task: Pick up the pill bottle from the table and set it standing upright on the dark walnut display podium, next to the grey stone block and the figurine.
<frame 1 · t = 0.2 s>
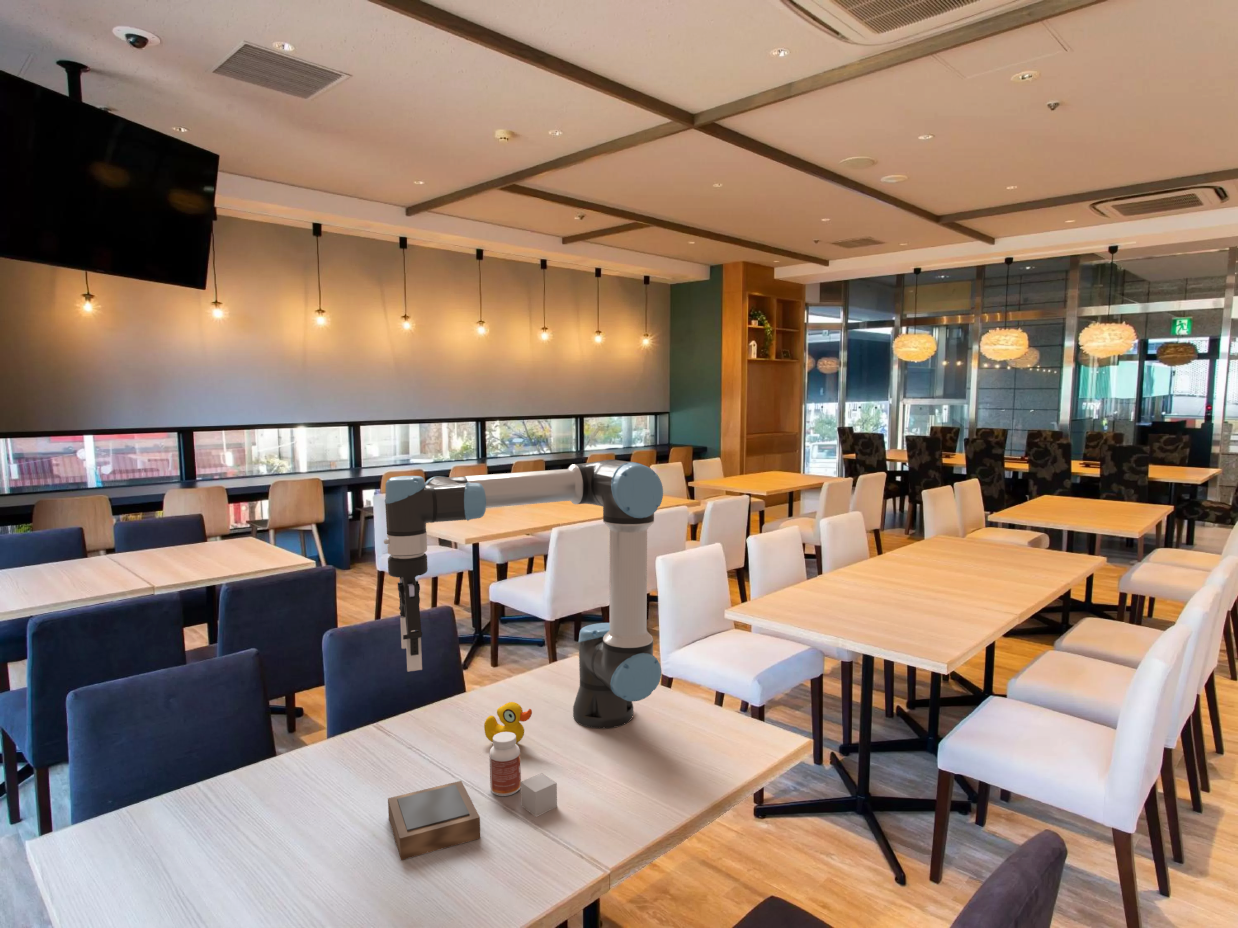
hand: (411, 658, 145), 27 cm above the table, fingers open, 13 cm apart
stone block: (539, 806, 140), on the table
duckling: (507, 745, 166), on the table
pill bottle: (505, 789, 147), on the table
podium: (433, 827, 134), on the table
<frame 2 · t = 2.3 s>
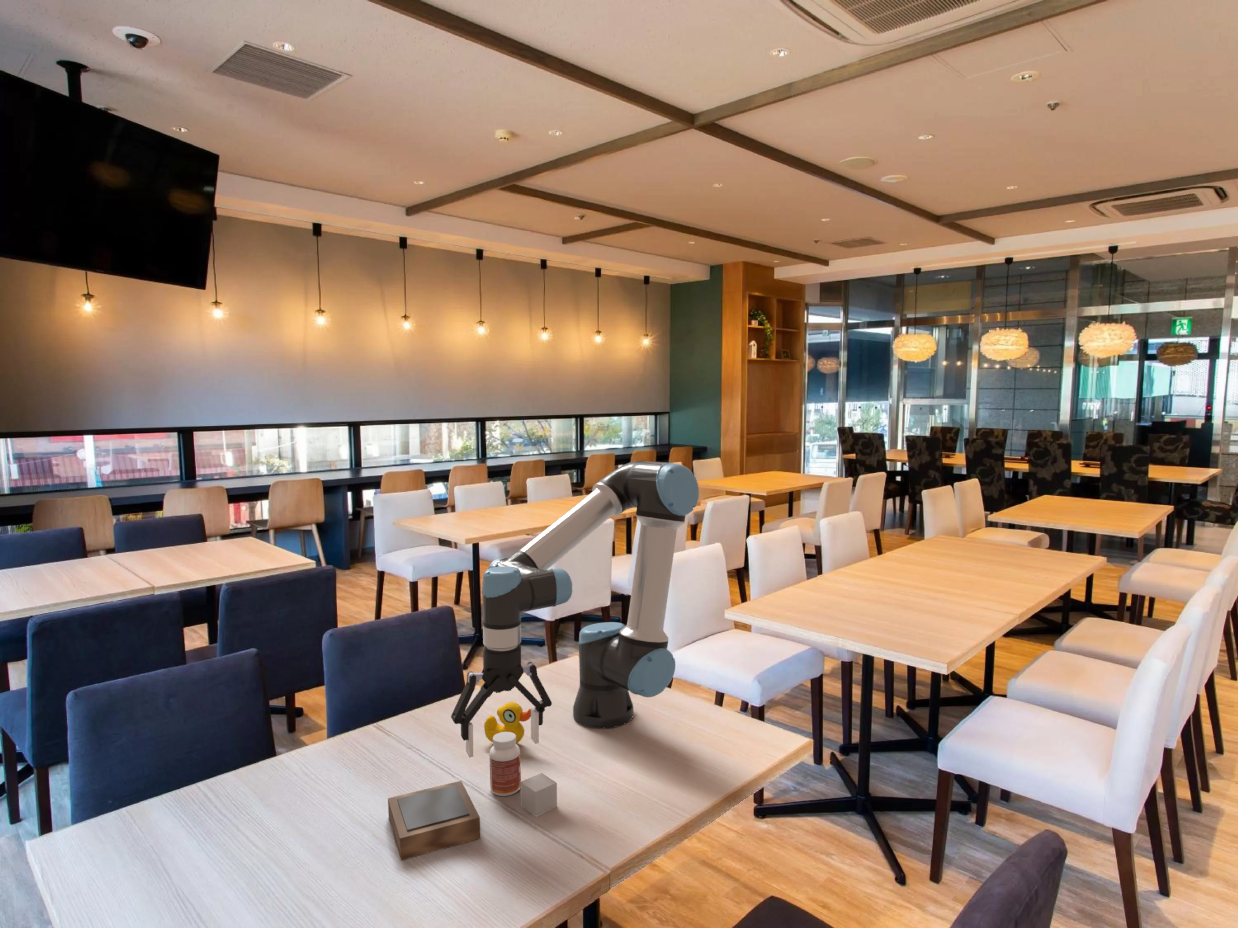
hand: (502, 747, 146), 9 cm above the table, fingers open, 13 cm apart
nothing on the table moved.
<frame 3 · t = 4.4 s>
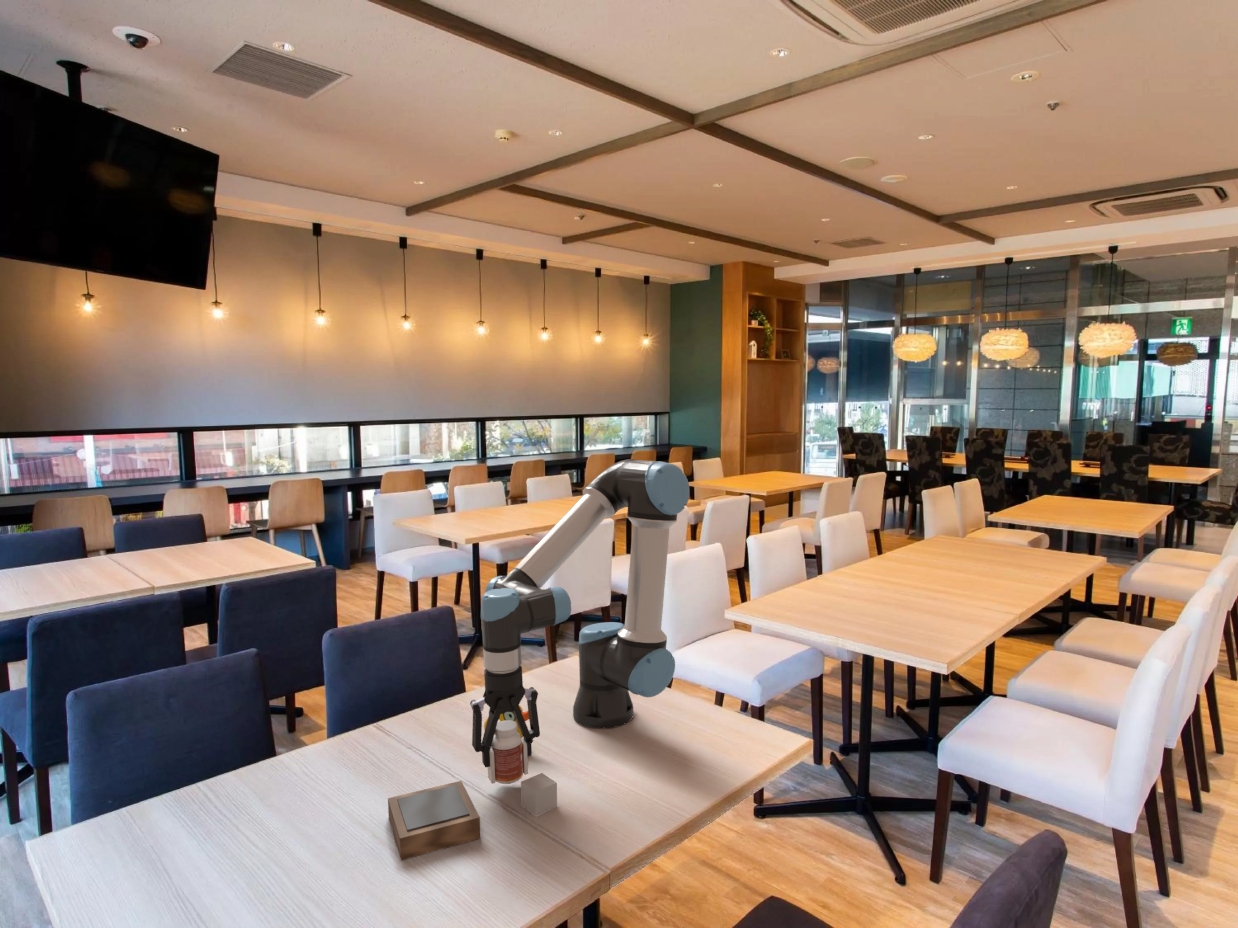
hand: (508, 775, 147), 3 cm above the table, fingers closed on pill bottle, 6 cm apart
pill bottle: (508, 777, 147), point 2 cm above the table, touching gripper
everything else where it was.
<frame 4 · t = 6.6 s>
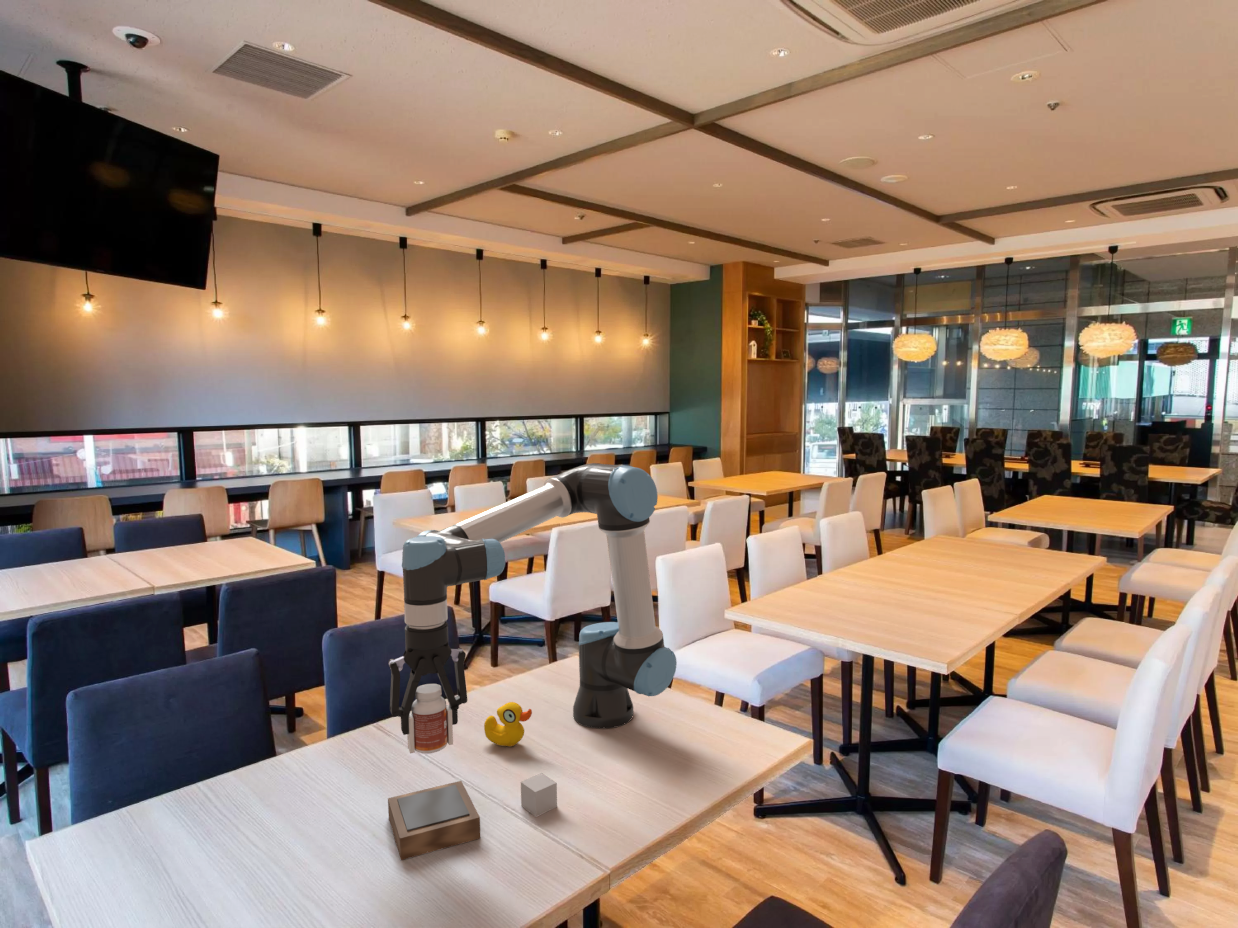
hand: (430, 745, 132), 16 cm above the table, fingers closed on pill bottle, 6 cm apart
pill bottle: (430, 747, 132), point 16 cm above the table, touching gripper
everything else where it was.
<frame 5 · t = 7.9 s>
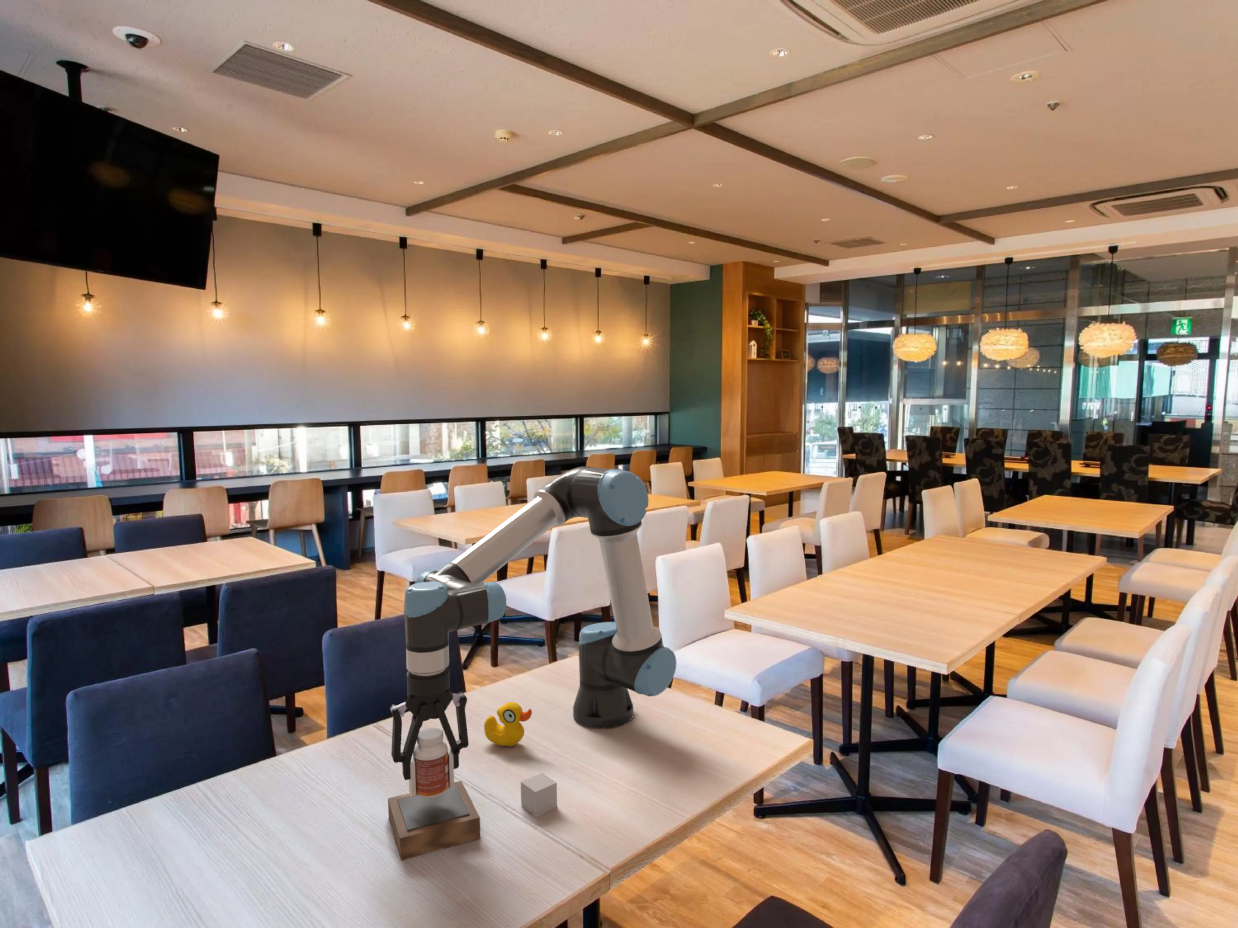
hand: (431, 789, 133), 7 cm above the table, fingers closed on pill bottle, 6 cm apart
pill bottle: (431, 791, 133), point 7 cm above the table, touching gripper
everything else where it was.
when the fingers open (5 cm above the table, at t = 8.7 s): pill bottle stays where it is, resting on podium.
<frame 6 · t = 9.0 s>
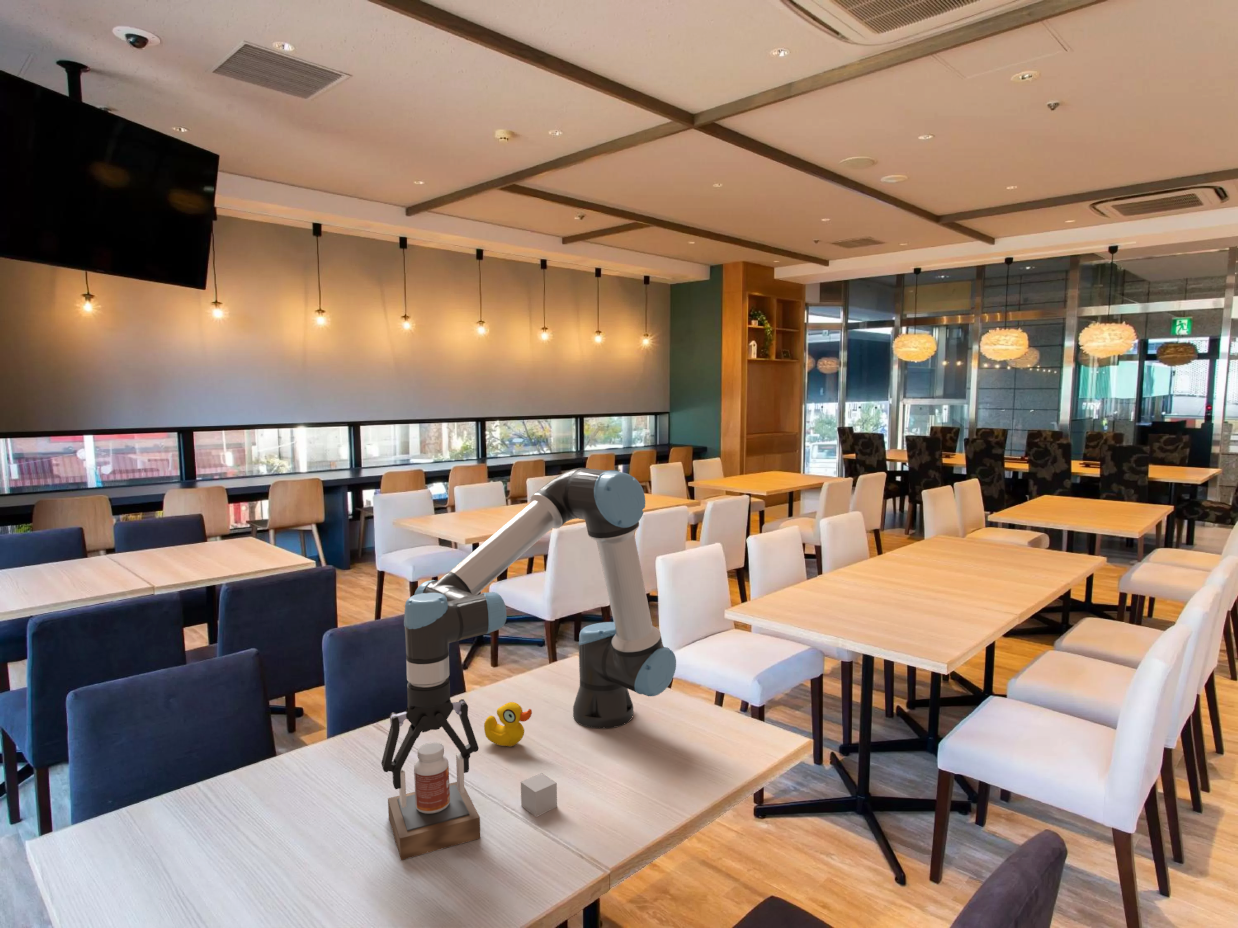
hand: (432, 796, 133), 6 cm above the table, fingers open, 10 cm apart
pill bottle: (433, 806, 133), point 4 cm above the table, touching podium
everything else where it was.
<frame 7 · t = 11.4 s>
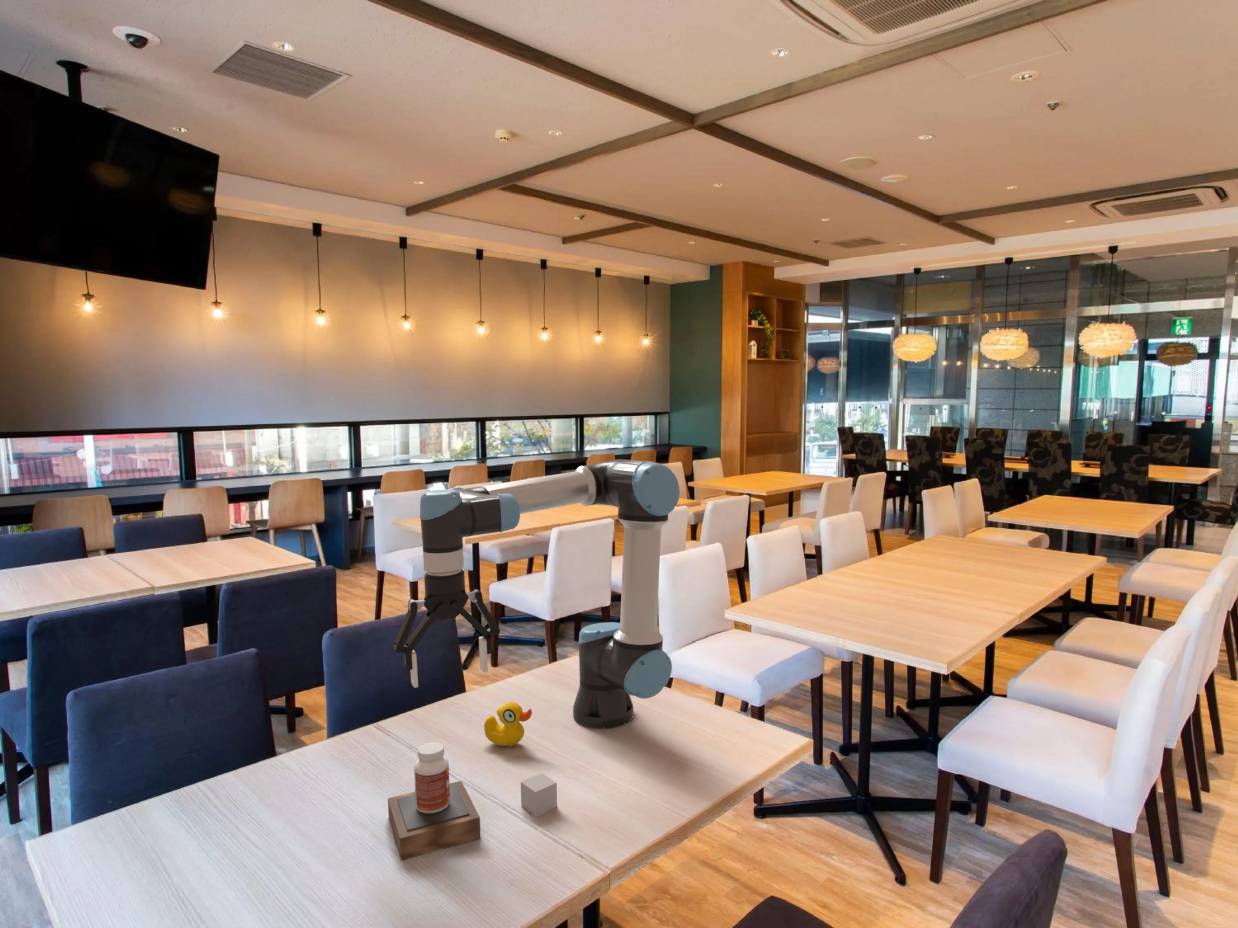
hand: (450, 677, 140), 25 cm above the table, fingers open, 13 cm apart
nothing on the table moved.
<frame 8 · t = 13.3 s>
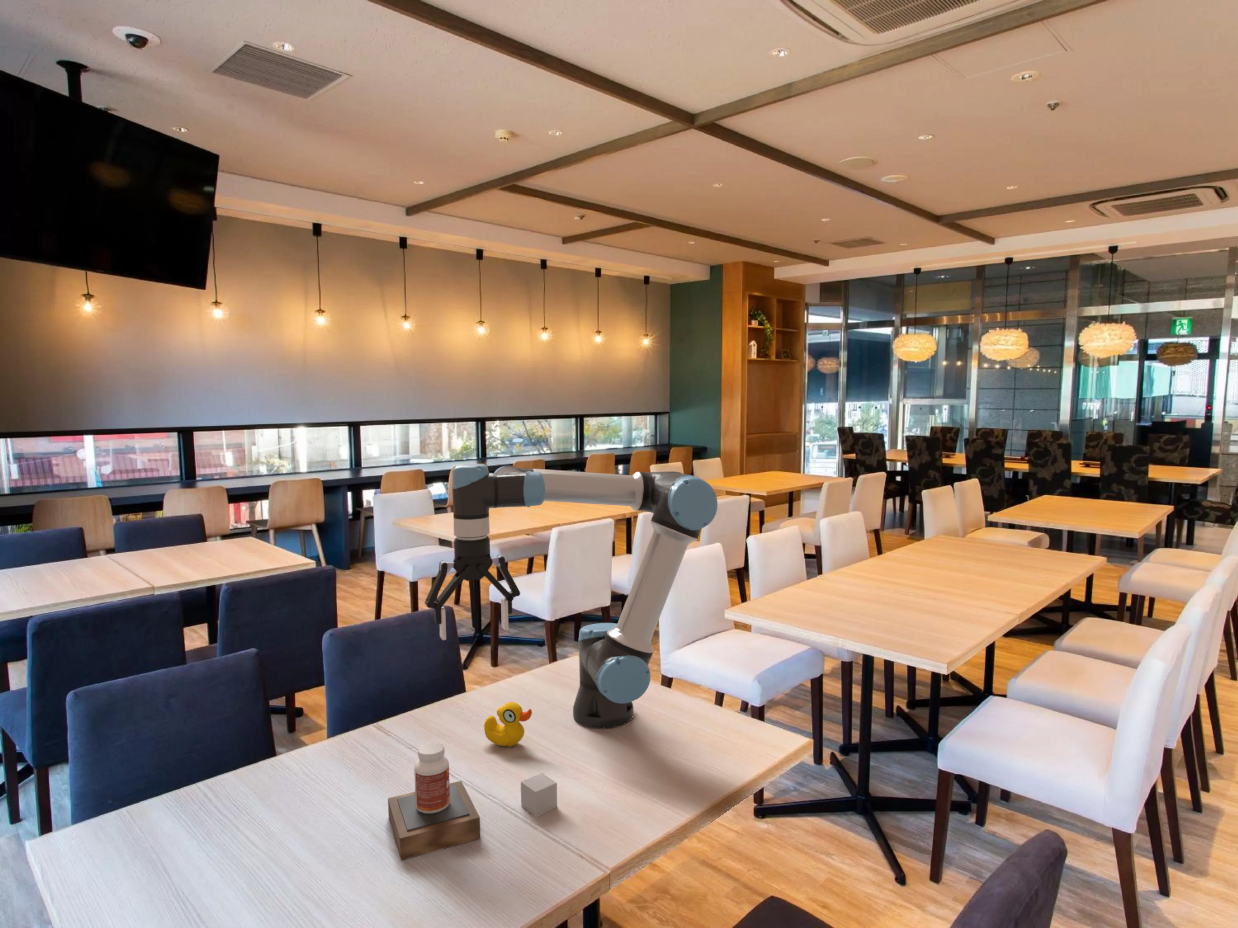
hand: (474, 633, 156), 29 cm above the table, fingers open, 13 cm apart
nothing on the table moved.
at the end: pill bottle inside the target area on the podium (0.1 cm from its centre), point 4.1 cm above the podium's base; pill bottle tilted 0°; the gripper is holding nothing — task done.
